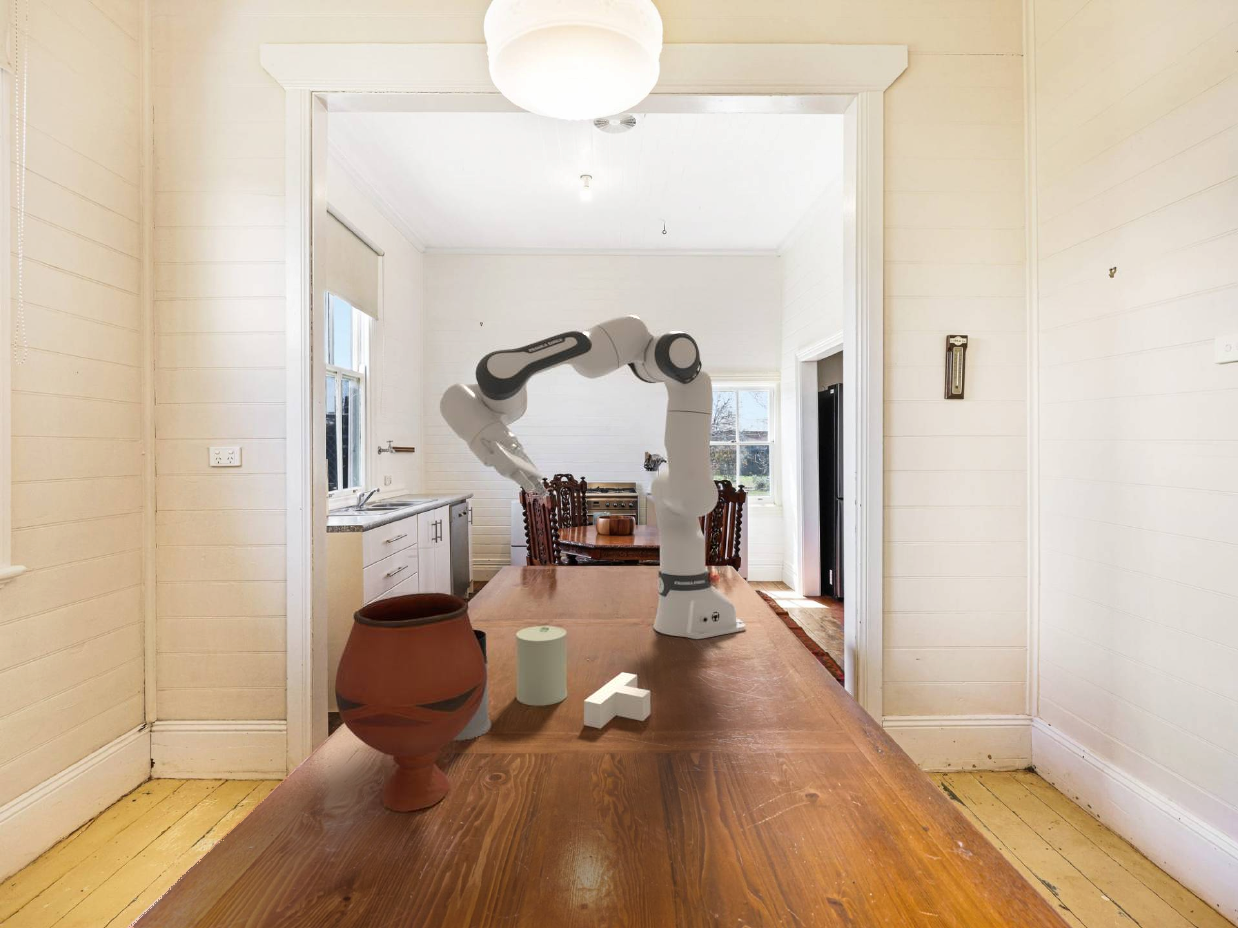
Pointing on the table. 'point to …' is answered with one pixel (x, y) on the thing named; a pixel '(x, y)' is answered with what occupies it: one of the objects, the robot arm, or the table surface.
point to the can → (541, 665)
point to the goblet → (411, 687)
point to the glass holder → (480, 719)
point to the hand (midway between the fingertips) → (539, 493)
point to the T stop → (617, 702)
